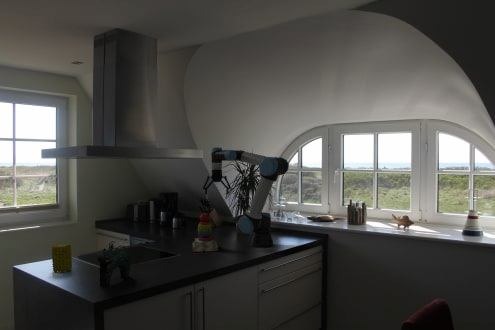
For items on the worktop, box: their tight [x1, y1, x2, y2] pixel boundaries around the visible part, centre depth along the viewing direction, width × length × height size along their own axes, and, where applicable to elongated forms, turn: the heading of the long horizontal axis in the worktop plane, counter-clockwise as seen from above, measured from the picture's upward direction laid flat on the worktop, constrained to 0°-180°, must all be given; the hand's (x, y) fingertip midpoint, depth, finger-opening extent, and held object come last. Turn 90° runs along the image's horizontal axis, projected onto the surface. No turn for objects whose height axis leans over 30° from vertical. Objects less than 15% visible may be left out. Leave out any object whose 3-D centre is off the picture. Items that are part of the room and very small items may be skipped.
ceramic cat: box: [97, 240, 131, 287], centre depth 190 cm, size 20×6×20 cm, turn 158°
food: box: [51, 243, 73, 273], centre depth 209 cm, size 15×12×10 cm
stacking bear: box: [197, 212, 215, 241], centre depth 261 cm, size 11×10×18 cm
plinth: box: [192, 237, 219, 253], centre depth 261 cm, size 16×16×6 cm
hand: (217, 198), depth 279 cm, fingers open, 13 cm apart
